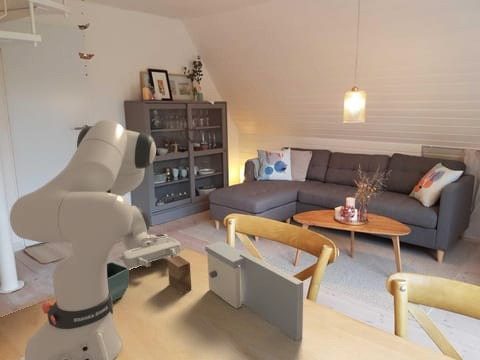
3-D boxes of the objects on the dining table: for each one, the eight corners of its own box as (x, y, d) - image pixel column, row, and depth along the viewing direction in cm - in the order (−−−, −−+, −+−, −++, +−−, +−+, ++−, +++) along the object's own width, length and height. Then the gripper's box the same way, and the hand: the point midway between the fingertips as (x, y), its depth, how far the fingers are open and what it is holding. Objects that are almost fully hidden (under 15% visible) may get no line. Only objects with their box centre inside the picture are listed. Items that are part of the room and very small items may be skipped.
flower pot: (89, 300, 110) (85, 272, 108) (114, 287, 117) (111, 261, 115) (107, 309, 105) (104, 280, 103) (132, 295, 112) (129, 268, 110)
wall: (285, 347, 88) (285, 290, 84) (207, 290, 114) (204, 244, 111) (302, 337, 91) (303, 281, 88) (223, 284, 118) (221, 239, 114)
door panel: (232, 310, 103) (231, 270, 100) (205, 290, 114) (203, 253, 111) (240, 306, 104) (239, 267, 102) (213, 287, 115) (211, 251, 113)
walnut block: (180, 294, 112) (178, 266, 110) (169, 285, 118) (167, 258, 116) (191, 289, 115) (189, 262, 113) (180, 281, 120) (178, 255, 118)
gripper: (116, 246, 128) (131, 260, 117) (169, 232, 140) (188, 243, 129) (117, 263, 129) (133, 278, 119) (170, 248, 141) (189, 260, 131)
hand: (162, 260), depth 124 cm, fingers open, 8 cm apart
